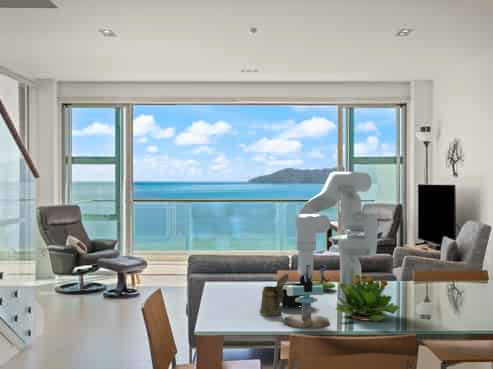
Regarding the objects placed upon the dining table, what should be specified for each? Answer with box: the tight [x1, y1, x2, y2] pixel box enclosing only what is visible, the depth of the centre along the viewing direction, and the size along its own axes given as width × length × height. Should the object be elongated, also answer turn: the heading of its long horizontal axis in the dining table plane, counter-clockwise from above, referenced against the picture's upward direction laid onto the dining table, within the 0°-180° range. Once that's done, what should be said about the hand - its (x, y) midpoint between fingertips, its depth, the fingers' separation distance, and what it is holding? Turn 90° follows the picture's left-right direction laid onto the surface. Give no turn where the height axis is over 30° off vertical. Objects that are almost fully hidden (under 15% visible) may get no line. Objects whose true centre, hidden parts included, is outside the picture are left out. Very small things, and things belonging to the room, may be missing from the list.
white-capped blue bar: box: [287, 286, 324, 304], centre depth 239 cm, size 14×6×6 cm, turn 94°
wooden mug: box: [259, 273, 289, 316], centre depth 253 cm, size 9×14×18 cm, turn 49°
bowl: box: [274, 282, 311, 308], centre depth 270 cm, size 17×17×10 cm
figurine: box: [312, 259, 336, 291], centre depth 308 cm, size 14×13×15 cm
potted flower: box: [335, 273, 400, 322], centre depth 248 cm, size 25×24×18 cm
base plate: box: [283, 303, 330, 329], centre depth 239 cm, size 18×18×8 cm
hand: (305, 289), depth 239 cm, fingers open, 9 cm apart
